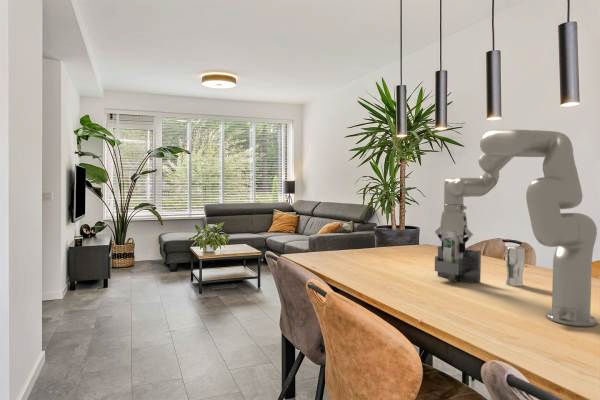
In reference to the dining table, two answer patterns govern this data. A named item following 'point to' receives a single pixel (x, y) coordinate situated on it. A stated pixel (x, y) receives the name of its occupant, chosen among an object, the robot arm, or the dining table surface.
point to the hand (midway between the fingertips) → (453, 251)
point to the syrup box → (451, 247)
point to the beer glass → (514, 265)
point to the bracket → (460, 266)
